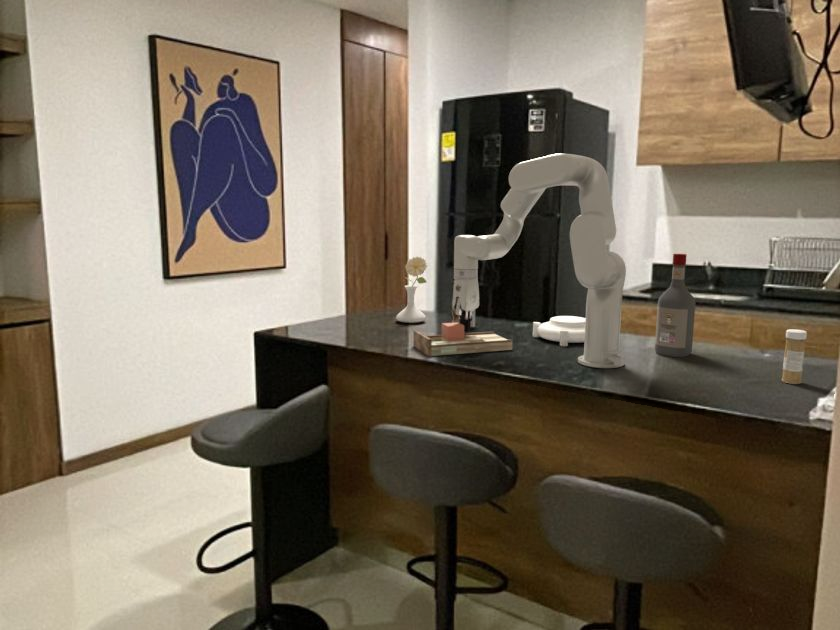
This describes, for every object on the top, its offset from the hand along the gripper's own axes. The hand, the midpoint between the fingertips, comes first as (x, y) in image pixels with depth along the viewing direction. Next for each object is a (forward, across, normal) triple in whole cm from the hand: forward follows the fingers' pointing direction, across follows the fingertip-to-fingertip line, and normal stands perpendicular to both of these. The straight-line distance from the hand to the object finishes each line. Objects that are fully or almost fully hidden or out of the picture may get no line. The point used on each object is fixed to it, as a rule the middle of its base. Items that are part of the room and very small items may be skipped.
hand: (464, 330), depth 213 cm
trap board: (+4, -6, -3) cm, 8 cm away
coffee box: (+4, +27, +15) cm, 31 cm away
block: (+2, -6, +1) cm, 7 cm away
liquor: (+4, +21, -60) cm, 64 cm away
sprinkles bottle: (+4, +3, -92) cm, 92 cm away
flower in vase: (+4, +22, +34) cm, 40 cm away
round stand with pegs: (+5, +24, -26) cm, 36 cm away
